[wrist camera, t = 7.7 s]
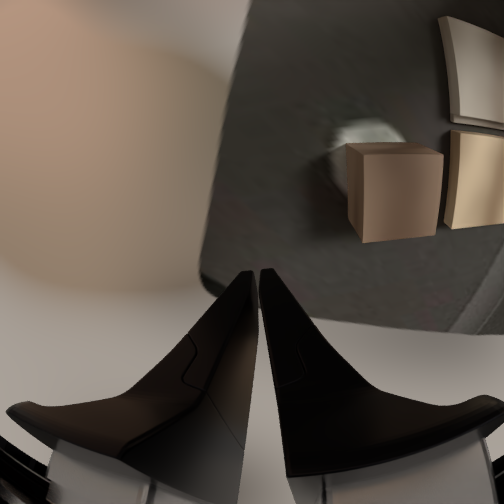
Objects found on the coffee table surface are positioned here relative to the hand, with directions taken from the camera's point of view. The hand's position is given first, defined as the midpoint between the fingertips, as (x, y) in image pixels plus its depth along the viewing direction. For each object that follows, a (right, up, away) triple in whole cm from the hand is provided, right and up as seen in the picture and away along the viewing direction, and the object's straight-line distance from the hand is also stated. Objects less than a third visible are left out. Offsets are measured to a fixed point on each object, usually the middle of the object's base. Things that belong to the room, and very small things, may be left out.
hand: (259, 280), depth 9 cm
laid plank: (+18, +14, +1) cm, 22 cm away
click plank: (+19, +7, +5) cm, 21 cm away
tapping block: (+8, +6, +7) cm, 12 cm away
